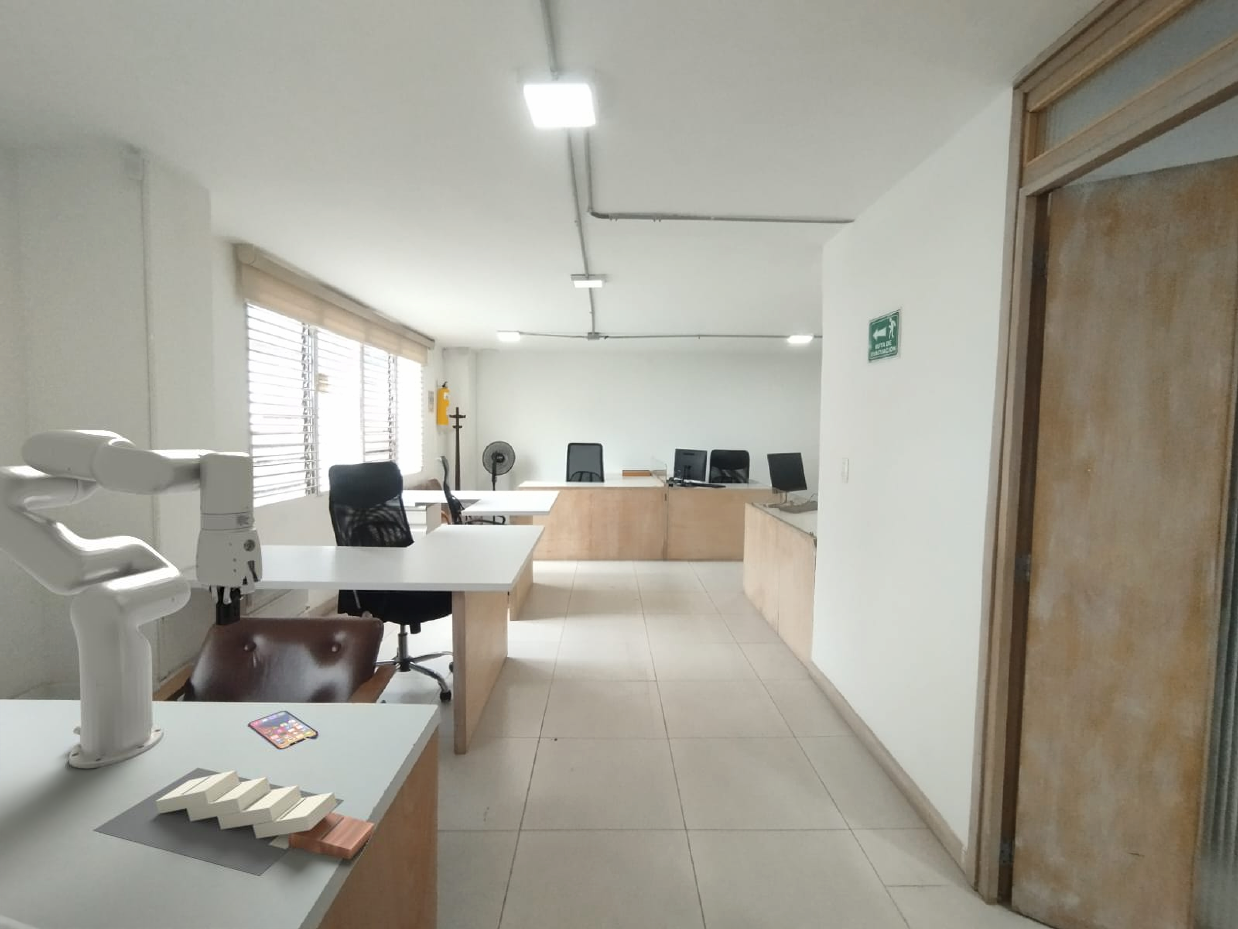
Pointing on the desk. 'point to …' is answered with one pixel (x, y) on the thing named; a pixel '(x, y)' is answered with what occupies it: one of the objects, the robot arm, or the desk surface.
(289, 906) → the desk surface
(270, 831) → the domino
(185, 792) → the domino
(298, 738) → the smartphone
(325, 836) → the domino
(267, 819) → the domino
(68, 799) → the desk surface
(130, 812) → the domino mat
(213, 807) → the domino
